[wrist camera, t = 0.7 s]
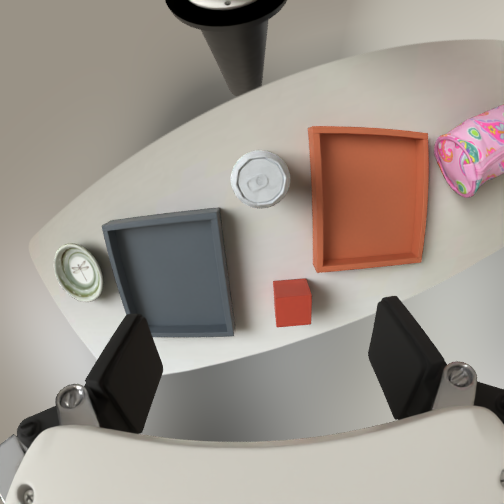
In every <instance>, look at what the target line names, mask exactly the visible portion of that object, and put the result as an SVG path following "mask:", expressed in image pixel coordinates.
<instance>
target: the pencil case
mask: <svg viewBox="0 0 504 504" xmlns="http://www.w3.org/2000/svg"><path fill="white" fill-rule="evenodd" d="M434 155H435V157H436V160H437V163H438V165H439V167H440V169H441V172H442V174H443V176H444V178H445V179H446V181H447V182H448V184H449V185H450V187H451V188H452V189H453V190H454V191H455V192H456V193H458V194H459V195H461V196H463V197H466V198H468V197H472V196H473V195H474V194H475V193H476V192H477V190H478V188H479V187H480V186H481V185H482V184H483V183H485V182H486V181H488V180H491V179H493V178H495V177H497V176H499V175H501V174H503V173H504V105H500V106H498V107H495V108H493V109H491V110H489V111H487V112H484V113H482V114H480V115H477V116H475V117H472V118H470V119H468V120H466V121H464V122H463V123H461V124H460V125H458V126H457V127H455V128H454V129H452V130H451V131H449V132H448V133H447V134H444V135H442V136H440V137H438V138H437V140H436V142H435V147H434Z"/></svg>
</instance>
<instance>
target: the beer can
mask: <svg viewBox="0 0 504 504" xmlns="http://www.w3.org/2000/svg"><path fill="white" fill-rule="evenodd" d="M289 185H290V173H289V170H288V167H287V165H286V164H285V162H284V161H283V160H282V159H281V158H280V157H279V156H277V155H276V154H274V153H271V152H269V151H264V150H256V151H252V152H249V153H247V154H245V155H244V156H242V157H241V158H240V159H239V160H238V161H237V162H236V164H235V165H234V167H233V170H232V174H231V186H232V189H233V191H234V193H235V195H236V196H237V198H238V199H239V200H240V201H241V202H243V203H244V204H246V205H248V206H250V207H253V208H268V207H271V206H274V205H275V204H277V203H279V202H280V201H281V200H282V199H283V198H284V197H285V195H286V194H287V192H288V189H289Z"/></svg>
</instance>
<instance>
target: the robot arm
mask: <svg viewBox="0 0 504 504" xmlns="http://www.w3.org/2000/svg"><path fill="white" fill-rule="evenodd" d="M189 1H190V2H191V3H192V4H194V5H196V6H198V7H201V8H204V9H209V10H232V9H237V8H241V7H244V6H247V5H250V4H252V3H254V2H256V1H257V0H189ZM368 356H369V360H370V362H371V365H372V367H373V369H374V372H375V374H376V376H377V378H378V381H379V383H380V385H381V387H382V390H383V392H384V395H385V397H386V399H387V402H388V404H389V407H390V409H391V412H392V414H393V417H394V418H395V419H398V420H397V421H393V422H389V423H386V424H381V425H377V426H373V427H368V428H364V429H359V430H355V431H349V432H344V433H338V434H332V435H326V436H318V437H310V438H302V439H292V440H279V441H263V442H212V441H193V440H181V439H171V438H162V437H154V436H148V435H141V434H139V433H142V431H143V428H144V425H145V422H146V419H147V416H148V413H149V410H150V407H151V404H152V401H153V399H154V396H155V393H156V390H157V387H158V384H159V381H160V378H161V376H162V373H163V365H162V362H161V359H160V357H159V354H158V351H157V349H156V346H155V343H154V340H153V337H152V335H151V332H150V329H149V326H148V323H147V320H146V318H144V317H142V315H141V314H127V315H126V316H125V318H124V319H123V321H122V322H121V324H120V325H119V327H118V328H117V330H116V331H115V333H114V334H113V336H112V337H111V339H110V341H109V342H108V344H107V345H106V347H105V348H104V350H103V352H102V353H101V355H100V356H99V358H98V360H97V361H96V363H95V365H94V366H93V368H92V370H91V371H90V373H89V375H88V376H87V378H86V380H85V381H86V384H85V386H84V387H83V386H82V385H79V384H72V385H68V386H66V387H64V388H63V389H62V390H60V392H59V393H58V394H57V397H56V406H55V407H52V408H50V409H47V410H45V411H43V412H40V413H38V414H35V415H33V416H31V417H28V418H26V419H24V420H23V421H22V422H21V423H20V425H19V427H18V430H17V436H15V435H14V434H13V435H12V436H11V437H9V438H8V439H7V440H5V441H4V442H3V443H2V444H0V498H1V500H2V502H3V504H504V389H500V388H497V387H493V386H490V385H487V384H483V383H480V382H477V375H476V372H475V370H474V369H473V368H472V367H471V366H470V365H468V364H466V363H464V362H452V363H449V364H448V365H447V364H446V362H445V361H444V358H443V357H442V355H441V354H440V352H439V351H438V350H437V348H436V347H435V345H434V344H433V343H432V341H431V340H430V339H429V337H428V336H427V335H426V333H425V332H424V330H423V329H422V328H421V326H420V325H419V324H418V323H417V321H416V320H415V319H414V317H413V316H412V315H411V313H410V312H409V311H408V310H407V308H406V307H405V306H404V305H403V304H402V302H401V301H400V300H399V298H398V297H397V296H391V297H384V298H382V300H381V302H379V303H378V305H377V311H376V317H375V322H374V328H373V333H372V338H371V343H370V347H369V352H368Z"/></svg>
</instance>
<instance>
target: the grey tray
mask: <svg viewBox="0 0 504 504" xmlns="http://www.w3.org/2000/svg"><path fill="white" fill-rule="evenodd" d="M102 230H103V234H104V239H105V243H106V247H107V251H108V255H109V259H110V262H111V266H112V270H113V273H114V277H115V280H116V284H117V287H118V290H119V293H120V297H121V300H122V303H123V306H124V309H125V312H126V315H127V314H141V315H142V317H144V318H146V320H147V323H148V326H149V329H150V332H151V335H152V337H227V336H234V330H235V322H234V315H233V308H232V301H231V294H230V287H229V279H228V272H227V264H226V257H225V249H224V241H223V233H222V225H221V216H220V208H210V209H200V210H190V211H181V212H173V213H164V214H156V215H148V216H141V217H133V218H126V219H119V220H112V221H109V222H108V223H106V224H104V225H102Z"/></svg>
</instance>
